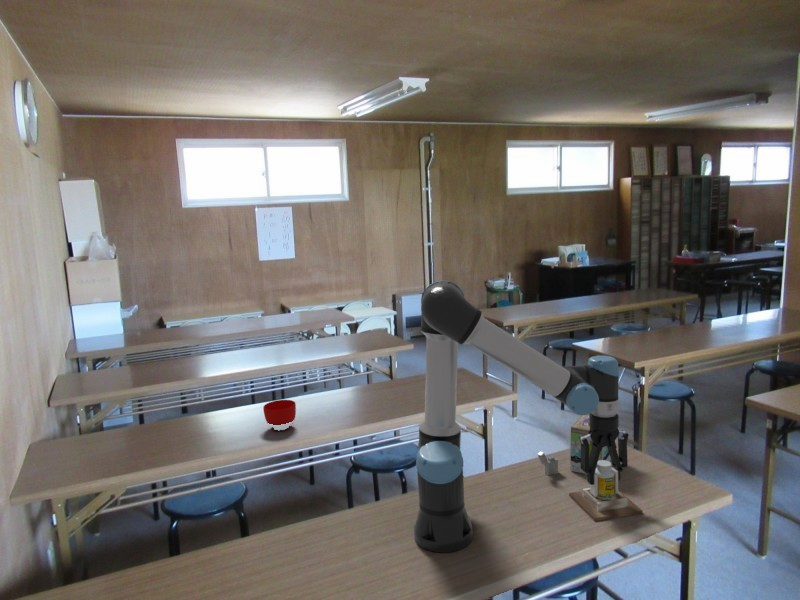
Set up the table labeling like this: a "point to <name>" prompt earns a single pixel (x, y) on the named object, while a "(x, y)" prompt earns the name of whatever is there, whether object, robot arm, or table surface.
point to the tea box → (578, 430)
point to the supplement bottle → (605, 480)
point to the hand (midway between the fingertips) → (604, 492)
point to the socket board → (605, 505)
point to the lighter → (549, 463)
